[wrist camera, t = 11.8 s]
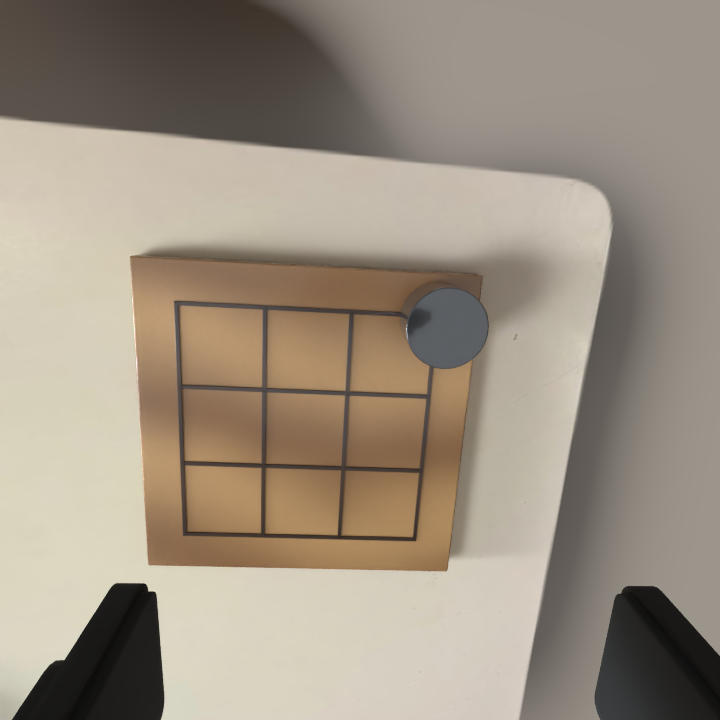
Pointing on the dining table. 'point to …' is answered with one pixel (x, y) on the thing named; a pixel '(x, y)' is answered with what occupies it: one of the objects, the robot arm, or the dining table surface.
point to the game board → (292, 417)
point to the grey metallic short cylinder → (443, 325)
